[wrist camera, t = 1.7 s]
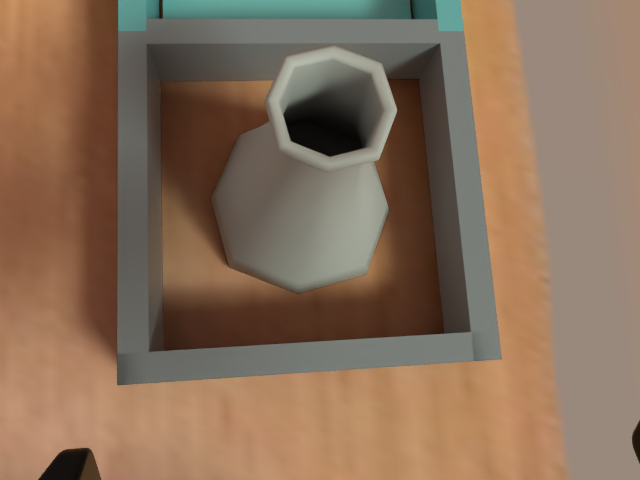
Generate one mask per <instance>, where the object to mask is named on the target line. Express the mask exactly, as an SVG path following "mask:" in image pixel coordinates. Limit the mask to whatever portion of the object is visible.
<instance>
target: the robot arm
mask: <svg viewBox="0 0 640 480" xmlns="http://www.w3.org/2000/svg"><path fill="white" fill-rule="evenodd" d="M632 443H633V448H634V451H635V453H636V456H637V458H638V460H639V463H640V421H639V422H638V424H637V426H636V428H635V430H634V432H633V435H632ZM38 480H101V477H100V474H99V471H98V467H97V464H96V461H95V458H94V455H93V452H92V450H90V449H89V448H77V449H66V450H63V451H62V452H60V453H59V454H58V455H57V456H56V458H55V459H54V460H53V461H52V463H51V464H50V465H49V467H48V468H47V469H46V470H45V472H44V473H43V474H42V476H41V477H40V478H39V479H38Z"/></svg>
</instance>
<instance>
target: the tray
mask: <svg viewBox="0 0 640 480" xmlns="http://www.w3.org/2000/svg"><path fill="white" fill-rule="evenodd" d="M411 4H412V14H413V19H411V9H410V0H163V19H160V10H159V0H118V256H117V385H128V384H143V383H158V382H173V381H188V380H203V379H217V378H232V377H247V376H262V375H277V374H292V373H307V372H322V371H336V370H351V369H366V368H381V367H396V366H411V365H426V364H440V363H455V362H470V361H485V360H500V359H502V357H501V348H500V340H499V331H498V322H497V314H496V305H495V296H494V288H493V279H492V270H491V262H490V253H489V245H488V236H487V227H486V219H485V210H484V201H483V193H482V184H481V175H480V167H479V158H478V149H477V141H476V132H475V123H474V115H473V106H472V97H471V89H470V80H469V72H468V63H467V54H466V46H465V37H464V28H463V20H462V11H461V2H460V0H411ZM333 44H335V45H337V46H340V47H342V48H345V49H347V50H350V51H352V52H355V53H357V54H360V55H362V56H365V57H367V58H370V59H372V60H375V61H377V62H380V63H382V65H383V68H384V71H385V74H386V77H387V79H419V85H420V95H421V105H422V115H423V125H424V136H425V146H426V156H427V166H428V176H429V186H430V196H431V207H432V217H433V227H434V237H435V247H436V257H437V267H438V277H439V288H440V298H441V308H442V318H443V328H444V334H432V335H416V336H399V337H383V338H367V339H350V340H334V341H318V342H301V343H285V344H269V345H253V346H236V347H220V348H204V349H187V350H171V351H163V266H162V181H161V95H160V81H251V80H274V78H275V76H276V74H277V71H278V69H279V67H280V64H281V62H282V60H283V57H284V55H286V54H291V53H296V52H300V51H305V50H310V49H314V48H319V47H324V46H328V45H333Z"/></svg>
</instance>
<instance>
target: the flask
mask: <svg viewBox="0 0 640 480" xmlns="http://www.w3.org/2000/svg"><path fill="white" fill-rule="evenodd" d="M265 107H266V110H267V114H268V117H269V122H267V123H265V124H263V125H262V126H260V127H258V128H255V129H253V130H250V131H247V132H245V133H242V134H241V135H239V136H238V137H237V140H236V142H235V144H234V147H233V149H232V151H231V154H230V156H229V158H228V160H227V163H226V165H225V167H224V170H223V172H222V174H221V177H220V179H219V181H218V184H217V186H216V188H215V190H214V193H213V195H212V197H211V201H212V205H213V208H214V212H215V216H216V220H217V223H218V227H219V231H220V235H221V238H222V242H223V246H224V250H225V253H226V257H227V261H228V265H229V268H232V269H235V270H237V271H240V272H242V273H245V274H247V275H250V276H253V277H255V278H258V279H260V280H263V281H266V282H268V283H271V284H273V285H276V286H278V287H281V288H284V289H286V290H289V291H291V292H294V293H297V294H299V293H302V292H306V291H310V290H313V289H317V288H320V287H324V286H327V285H331V284H334V283H338V282H341V281H345V280H349V279H352V278H356V277H359V276H363V275H366V274H367V271H368V268H369V266H370V263H371V260H372V257H373V254H374V252H375V249H376V246H377V243H378V240H379V238H380V235H381V232H382V229H383V227H384V224H385V221H386V218H387V215H388V213H389V207H388V204H387V201H386V197H385V194H384V191H383V188H382V185H381V182H380V178H379V175H378V172H377V169H376V166H375V163H374V161H377V160H379V158H380V156H381V153H382V151H383V148H384V145H385V143H386V140H387V137H388V135H389V132H390V129H391V126H392V124H393V121H394V118H395V116H396V113H397V108H396V105H395V102H394V99H393V95H392V92H391V89H390V86H389V83H388V80H387V77H386V74H385V71H384V68H383V65H382V63H380V62H377V61H375V60H372V59H370V58H367V57H365V56H362V55H360V54H357V53H355V52H352V51H350V50H347V49H345V48H342V47H340V46H337V45H335V44H333V45H328V46H324V47H319V48H314V49H310V50H305V51H300V52H296V53H291V54H286V55H284V57H283V60H282V62H281V64H280V67H279V69H278V71H277V74H276V76H275V78H274V81H273V83H272V85H271V88H270V90H269V92H268V95H267V97H266V99H265Z"/></svg>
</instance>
